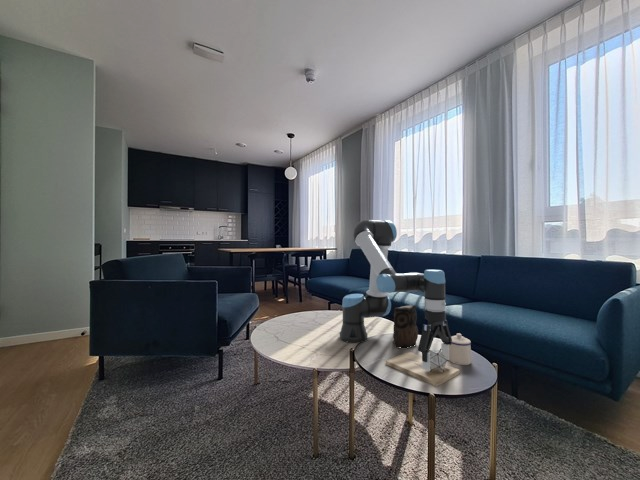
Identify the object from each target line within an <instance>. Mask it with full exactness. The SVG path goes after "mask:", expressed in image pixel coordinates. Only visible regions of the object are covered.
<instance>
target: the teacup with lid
mask: <svg viewBox="0 0 640 480" xmlns="http://www.w3.org/2000/svg"><path fill="white" fill-rule="evenodd" d="M462 335H463V334H461V333H460V332H459V333H456V335H451V338H452V344H451V345H449V362H450V363H453V364H455V365H460V366H469V365H470V364H472V353H471V352H472V348H471V345H472V342H471V340H470V339H468V338H467V337H465V336H462Z"/></svg>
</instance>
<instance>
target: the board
mask: <svg viewBox="0 0 640 480" xmlns="http://www.w3.org/2000/svg"><path fill="white" fill-rule="evenodd" d="M385 365H386V366H389V367H392V368H394V369H396V370H398V371H401V372H403V373H405V374H408V375H410V376H412V377H415V378H417V379H420V380H422V381H424V382H427V383H429V384H431V385H433V386H435V387H439V386H441V385H442V384H444V383H446V382H448V381H449V380H451V379H453V378H455V377H456V376H458V375H460V373H461V372H460V371H461V369H459V368H456V367H453V366H450V365H447V364H446V365H445V367H444V369H443V370H444V372H445V373H444V372H443V370H432V371H431V372H430V371H426V370H424V369H422V355H420V354H417V353H413V352H411V351H406V352H405V353H404V352H403V353H402V354H399V355H396V356H394V357H392V358H389V359H386V360H385ZM430 370H431V369H430Z"/></svg>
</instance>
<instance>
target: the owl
mask: <svg viewBox="0 0 640 480" xmlns="http://www.w3.org/2000/svg"><path fill="white" fill-rule="evenodd" d="M415 306H416V305H415V304H410V305H404V306H403V305H402V306H400V307H395V308H394V311H393V312H394V313H393V334H392V338H393V343H394V342H395V343H394V346H396V347H395V348H397V347H401V348H407V347H410V346H414V345H417V340H418V336H419V327H418V326H417V321H418V315H417V314H418V313H417V310H416V307H415ZM407 349H408V348H407Z"/></svg>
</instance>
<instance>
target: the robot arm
mask: <svg viewBox="0 0 640 480" xmlns="http://www.w3.org/2000/svg"><path fill="white" fill-rule="evenodd" d="M397 235H398V231H397V227H396V225H395V223H394V222H393V221H392V220H387V219H362V220H361V221H359V222H357V223H356V225H354V227H353V231H352V237H353V238H352V239H353V240H354V243H355V244H356V246H357V247H359V248H360V249H361V251H362V252H363V254H364V256H365V258H366V259H367V261H368V263H369V265H370V271H369V272H370V274H369V284H368V285H369V287H368V290H366V291H365V296H364V294H363V293H350V294H346V295H345V296H344V297H343V298H342V304H341V306H342V308H341V309H342V325H341V329H340V332H339V340H340V341H343V342H347V343H352V344H354V343H355V344H356V343H357V344H358V343H363V342H362V341H364V342H366V341H368V338H369V337H368V332H367V329H366V326H365V319H367V318H368V319H369V318H382V317H386V316H388V315H389V313H390V311H391V310H392V302H391V298H390V296H388V294H392V293H400V292H401V293H402V292H405V293H406V292H422V293H424V309H425V310H424V319H425V320H426V321H427V324H425V323H424V324H422V330H421V335H420V339H419V342H418V348H417V352H421V356H422V369H424V370H426V371H430V353H428V352H429V350H431V347H432V343H433V341H434V339H435V338H436V337H437V335H438V336H439V338H440V340H441V342H442V343H440V346H441V348H440V349H441V352H442V354H443V355H444V357H445V358H446V359H447V360H449V345H451V344H452V338H451V337H452V335H451V332H450V328H449V325H448V323H449V322H448V320H447V314H446V313H447V312H446V305H447V303H446V282H447V281H446V277H445V272H444V270H442V269H425V270H424V271H423V272H424V273H421V272H416V271H411V272H410V271H409V272H406V273H397V272H396V270H395V269H394V267H393V266H392V265H391V262H390V261H389V260H388V254H389V248H390V247H391V246H392V242H394V241H396V238H397ZM365 340H366V341H365ZM449 362H450V360H449V361H447V362H446V363H449Z"/></svg>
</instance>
